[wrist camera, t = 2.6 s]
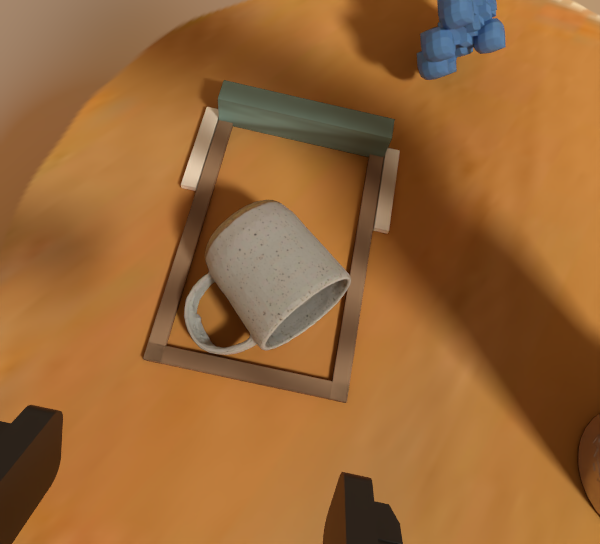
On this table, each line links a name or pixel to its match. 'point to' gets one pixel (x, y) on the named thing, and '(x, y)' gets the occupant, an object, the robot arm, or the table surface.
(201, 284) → the ceramic mug
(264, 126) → the bay
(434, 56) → the grapes
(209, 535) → the table surface
